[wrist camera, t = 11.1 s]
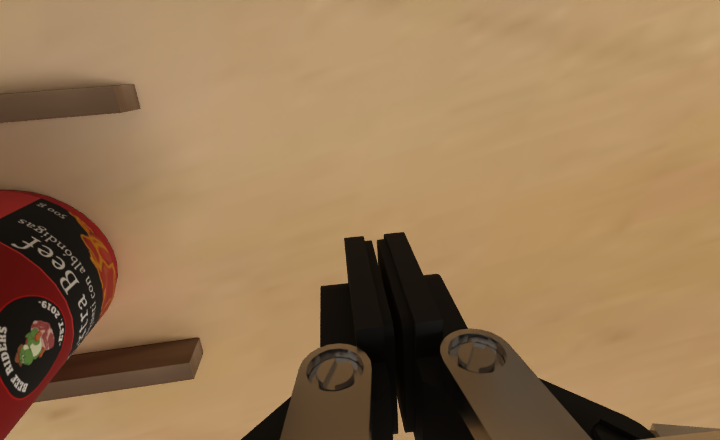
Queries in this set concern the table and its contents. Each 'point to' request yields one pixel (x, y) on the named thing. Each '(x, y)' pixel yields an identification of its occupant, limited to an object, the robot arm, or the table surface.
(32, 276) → the canned food
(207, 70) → the table surface
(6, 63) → the table surface
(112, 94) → the walnut frame
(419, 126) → the table surface
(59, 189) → the table surface
